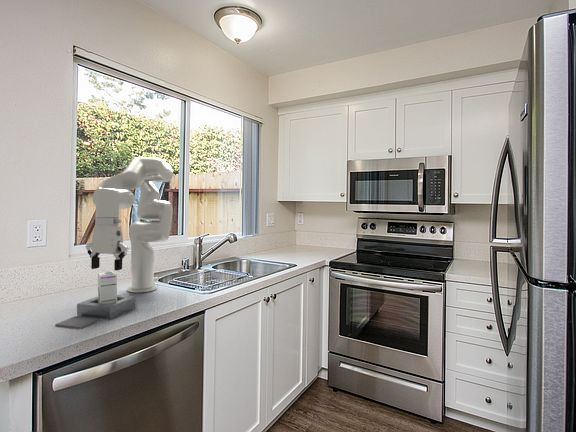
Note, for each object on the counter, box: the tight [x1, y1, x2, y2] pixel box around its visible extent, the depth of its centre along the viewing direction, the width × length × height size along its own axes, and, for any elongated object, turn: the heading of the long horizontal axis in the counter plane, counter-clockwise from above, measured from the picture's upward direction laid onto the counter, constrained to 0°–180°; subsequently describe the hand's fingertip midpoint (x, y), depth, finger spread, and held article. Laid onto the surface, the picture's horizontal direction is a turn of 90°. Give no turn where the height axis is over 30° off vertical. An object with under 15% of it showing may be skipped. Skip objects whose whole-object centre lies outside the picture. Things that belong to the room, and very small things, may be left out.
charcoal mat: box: [54, 315, 101, 330], centre depth 112 cm, size 8×10×1 cm
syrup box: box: [97, 271, 118, 304], centre depth 123 cm, size 6×6×14 cm
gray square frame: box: [76, 294, 137, 321], centre depth 123 cm, size 14×14×4 cm
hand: (106, 269), depth 122 cm, fingers open, 9 cm apart
